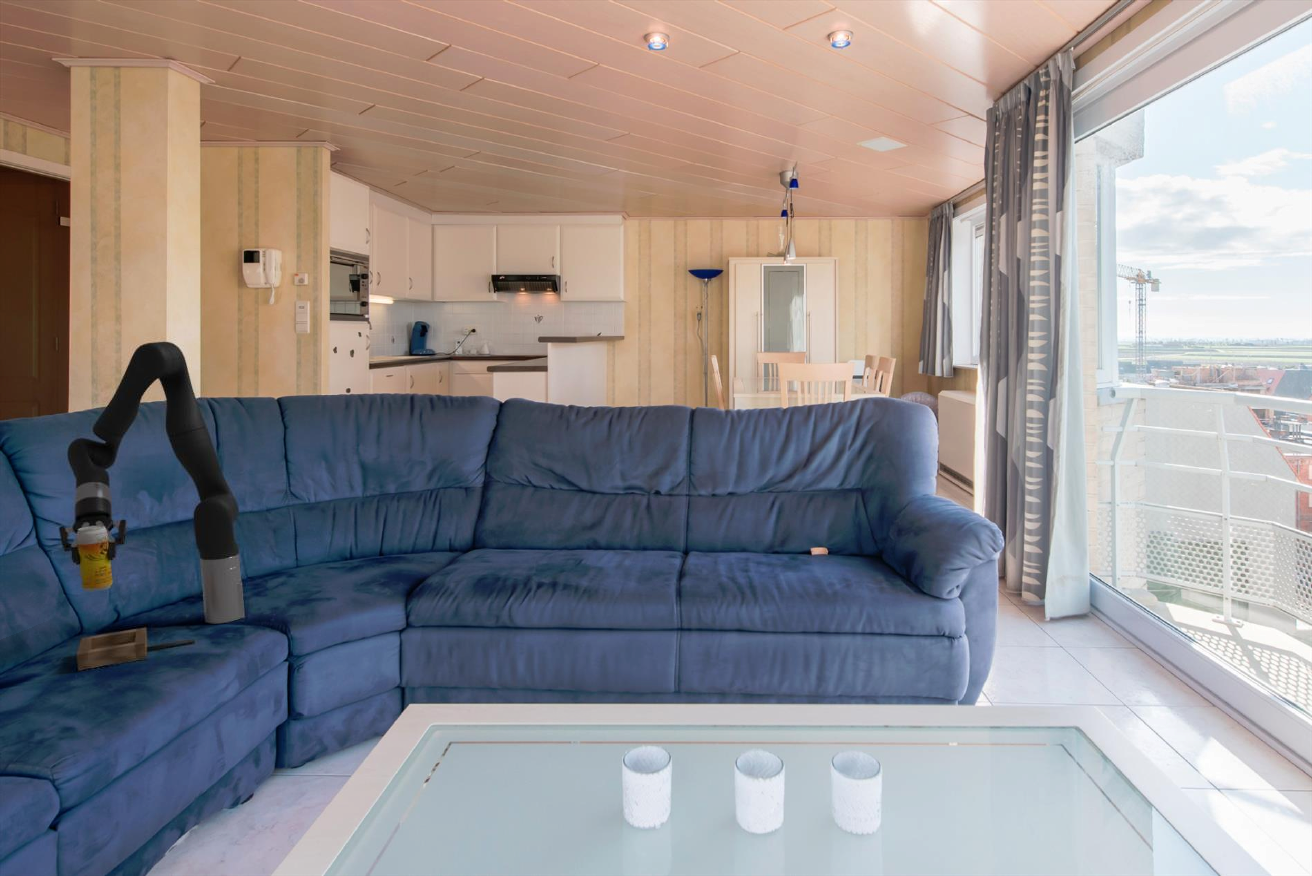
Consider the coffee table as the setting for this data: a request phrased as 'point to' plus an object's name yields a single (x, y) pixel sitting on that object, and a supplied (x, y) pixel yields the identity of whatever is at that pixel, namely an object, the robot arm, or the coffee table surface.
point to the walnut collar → (116, 648)
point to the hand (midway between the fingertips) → (94, 560)
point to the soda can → (94, 558)
